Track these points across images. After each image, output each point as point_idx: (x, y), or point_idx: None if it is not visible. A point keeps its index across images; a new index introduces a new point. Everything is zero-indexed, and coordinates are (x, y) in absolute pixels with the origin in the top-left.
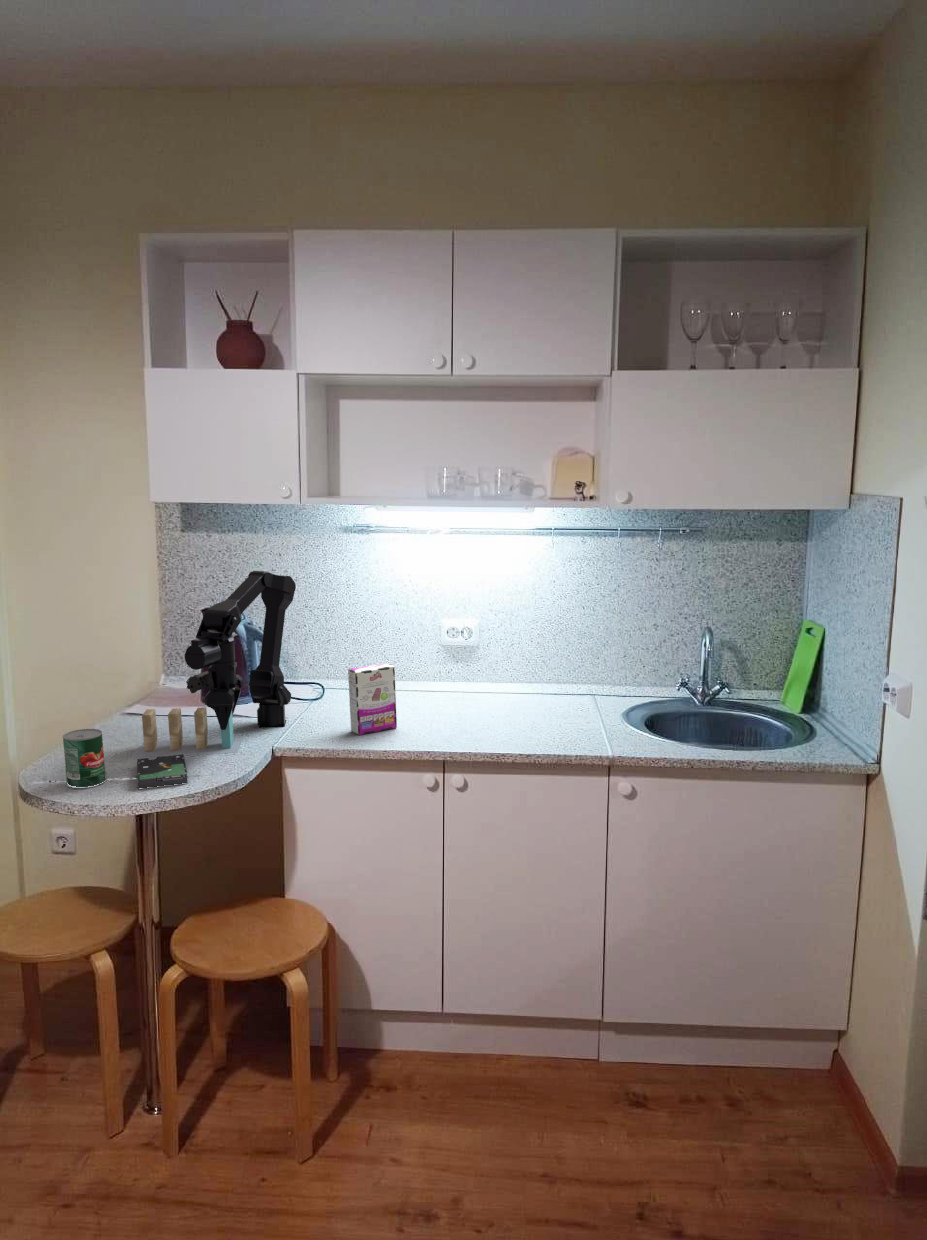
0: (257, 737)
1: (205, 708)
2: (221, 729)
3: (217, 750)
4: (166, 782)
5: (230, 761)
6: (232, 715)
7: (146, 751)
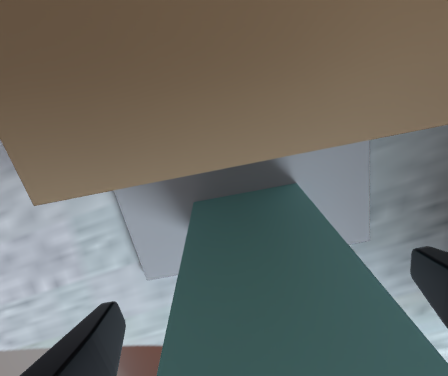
0: (387, 277)
1: (397, 132)
2: (100, 307)
3: (164, 189)
4: None
5: (64, 274)
6: (434, 303)
7: None
